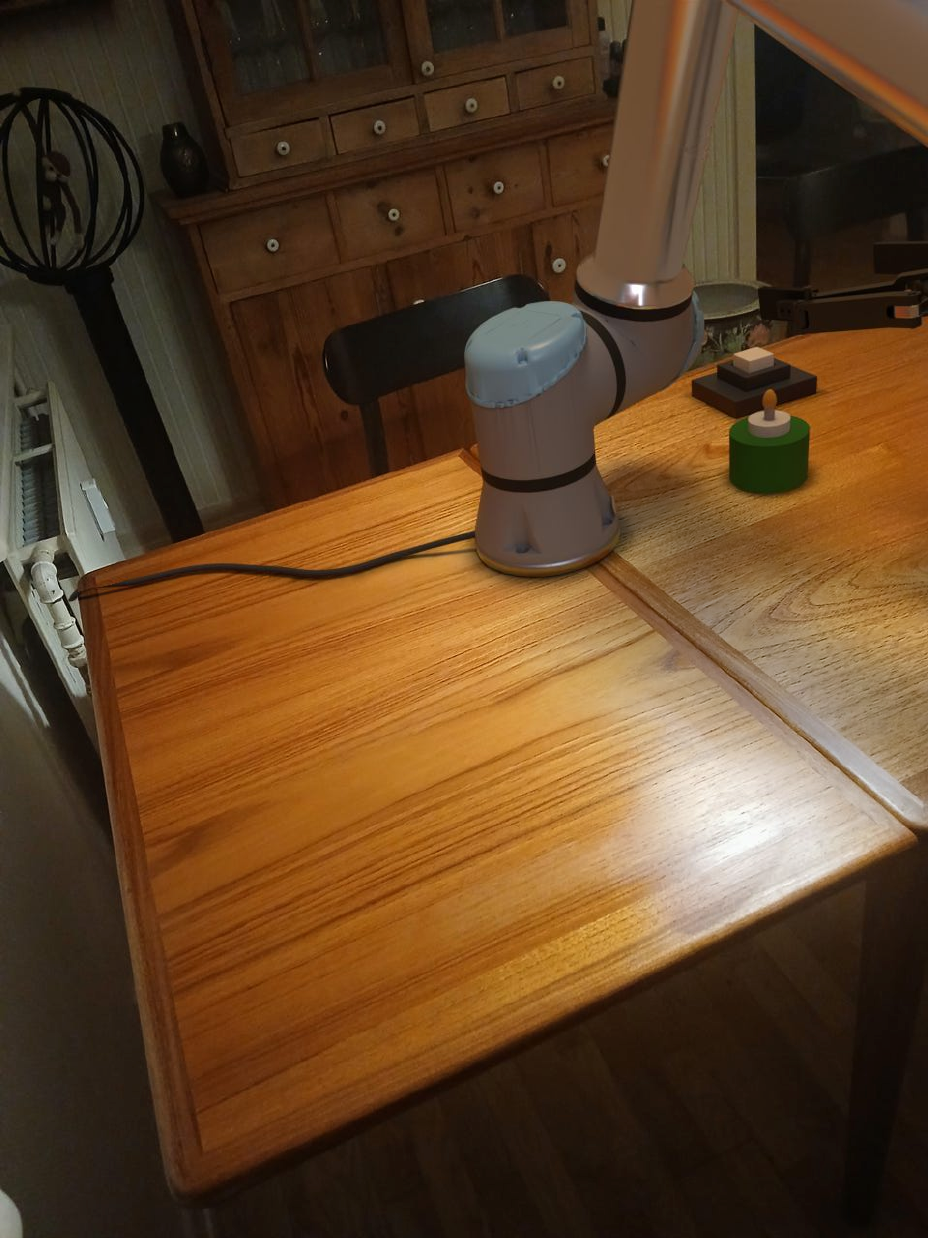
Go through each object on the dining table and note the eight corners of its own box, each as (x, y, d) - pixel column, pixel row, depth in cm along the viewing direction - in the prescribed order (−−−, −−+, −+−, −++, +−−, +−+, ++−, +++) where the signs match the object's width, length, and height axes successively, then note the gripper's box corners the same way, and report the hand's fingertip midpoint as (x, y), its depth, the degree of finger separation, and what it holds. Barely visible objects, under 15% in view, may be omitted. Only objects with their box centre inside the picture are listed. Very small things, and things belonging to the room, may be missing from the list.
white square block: (749, 374, 120) (749, 361, 119) (732, 366, 123) (732, 353, 122) (773, 366, 120) (774, 353, 119) (756, 359, 123) (756, 346, 122)
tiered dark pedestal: (735, 418, 118) (735, 388, 116) (691, 395, 126) (690, 366, 124) (816, 392, 121) (818, 362, 119) (768, 371, 129) (769, 342, 127)
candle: (780, 500, 100) (782, 411, 95) (713, 482, 106) (712, 396, 100) (822, 468, 104) (827, 381, 99) (756, 453, 110) (758, 369, 104)
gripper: (912, 394, 67) (717, 364, 85) (1149, 286, 74) (922, 280, 92) (908, 286, 64) (705, 278, 82) (1156, 184, 71) (920, 198, 89)
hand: (820, 279), depth 87 cm, fingers open, 13 cm apart
